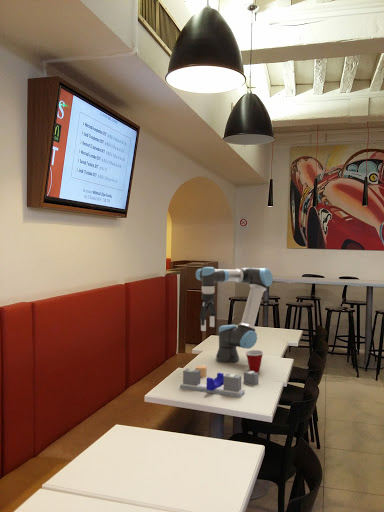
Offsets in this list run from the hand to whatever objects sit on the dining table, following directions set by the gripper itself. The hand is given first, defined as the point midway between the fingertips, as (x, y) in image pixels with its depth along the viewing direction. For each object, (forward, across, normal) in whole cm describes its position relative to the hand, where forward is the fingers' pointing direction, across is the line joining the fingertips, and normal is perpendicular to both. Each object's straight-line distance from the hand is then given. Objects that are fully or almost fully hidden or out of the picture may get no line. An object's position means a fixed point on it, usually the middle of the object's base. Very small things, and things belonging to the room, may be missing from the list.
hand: (207, 328), depth 270 cm
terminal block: (+27, +5, -2) cm, 27 cm away
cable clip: (+25, +28, +15) cm, 41 cm away
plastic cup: (+27, -16, +24) cm, 39 cm away
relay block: (+27, +7, +29) cm, 40 cm away
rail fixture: (+27, +28, +14) cm, 41 cm away
